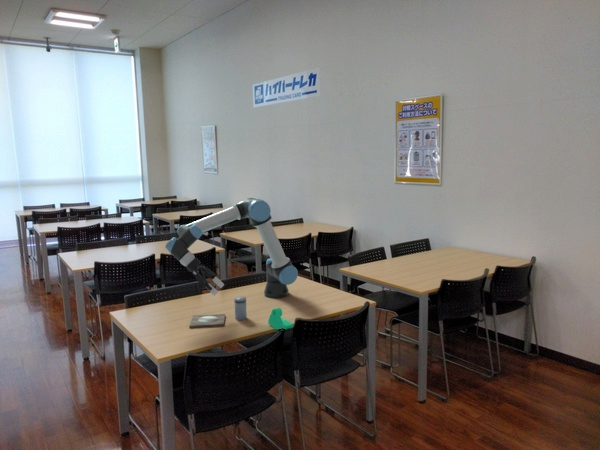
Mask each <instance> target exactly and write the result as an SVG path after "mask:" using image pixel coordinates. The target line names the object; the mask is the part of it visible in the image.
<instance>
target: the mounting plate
mask: <svg viewBox="0 0 600 450" xmlns="http://www.w3.org/2000/svg"><path fill="white" fill-rule="evenodd" d="M225 319H226V313H222V314H221V313H218V314H216V313H215V314H202V315H201V314H198V315H196V314H195V315H192V318H191V320H190V323H189V325H188V327H189V329H197V328H198V329H199V328H216V327H224V326H225V321H226V320H225Z"/></svg>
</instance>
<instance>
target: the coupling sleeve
mask: <svg viewBox="0 0 600 450" xmlns="http://www.w3.org/2000/svg"><path fill="white" fill-rule="evenodd" d="M247 315H248V314H247V297H245V296H236V297H234V316H235V317H234V319H235V320H236V321H245V320H247V318H248V317H247Z"/></svg>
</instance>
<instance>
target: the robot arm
mask: <svg viewBox="0 0 600 450" xmlns="http://www.w3.org/2000/svg"><path fill="white" fill-rule="evenodd" d="M271 212H272V211H271V207H270V205H269V203H268V202H266V201H265V200H264V199H259V198H253V197H249V198H245V199H243V200H240V201H238V202H236V203H233V204H232V206H231V207H229V208H226V209H224V210H221V211H218V212H216V213H213V214H210V215H208V216H206V217H203V218H201V219H198V220H196V221H193V222H190V223H188V224H187V223H186V224H182V225H179V227H178V228H177V234H178V237H172V238H170V240H168V241H167V243H165V249H166V250H167V251H168V252H169V253H170V254H171V255H172V256H173V257H174V258H175V259H176V260H177V261H178V262H180V265H182V266H184V267H186V268H185V269H187V271H189V272H190V273H191V272H192V273H191V274H192V275H193V276H194V277H195V279H196V280H197V282H198V283H199V285H200V286H201V287H202V289H205V288H206V289H207V290H208V292H210V293H211V294H212V296H214V297H215V296H216V295H217V294H218V293H219V291H218V290H217V289H216V288H215V287H214V286H213V285H212V284H211V283H210V282H208V281H207V280H208V279H206V277H208V278H210V279H211V280H212V281H213V282H214V284H216V286H218V287H219V288H220V289H222V288H223V287H224V286H225V284H224V282H222V280H220V278H218V274H216V273H215V272H214V271H212V270H211V269H209V268H208V267H207V266H205V265H204V264H201V260H200V259H198V258H197V257H195V255H194V254H193V252H191V251H190V250H189V248H190V247H191V246H192V245H193V244H194V243H196V241H198V240H199V239H200V238H201V236H202V235H203V234H204V233H205V232H208V231H211V230H213V229H215V228H218V227H220V226H223V225H225V224H228V223H231V222H233V221H236V220H239V221H240V220H242V219H249V220H250V223H251V225H252V227H255V228H256V230H257V231H258V234H259V236H260V238H261V240H262V242H263V245H264V248H265V250H266V252H267V254H268V256H269V258H267V260H266V263H265V265H266V267H265V268H266V269H265V270H266V271H265V272H266V284H265V287H264V291H263V295H264V297H267V298H271V299H272V298H273V299H278V298H285V297H287V296H288V295H289V288H288V286H289V285H292V284H293V283H294V282H296V280H297V278H298V276H299V271H298V269H297V267H295V265H293V264H292V261H291V258H289V257H287V256H286V254H285V252H284V249H283V247H282V245H281V242H280V240H279V238H278V236H277V234H276V231H275V229H274V226H273V224H272V221H271V220H272V215H271ZM205 276H206V277H205Z"/></svg>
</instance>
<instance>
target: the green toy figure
mask: <svg viewBox="0 0 600 450" xmlns="http://www.w3.org/2000/svg"><path fill="white" fill-rule="evenodd" d="M282 316H283V310H282V308H280V307H277V308H273V309H272V310H271V312H270V315H269V318H268V320H267V321H268V324H269V325H271V328H273V329H274V330H276V331H279V329H281V328H284V329H285V330H288V329H292V328H294V323H293V322H291V321H289V320H287V319H286V318H283V317H282Z"/></svg>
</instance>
